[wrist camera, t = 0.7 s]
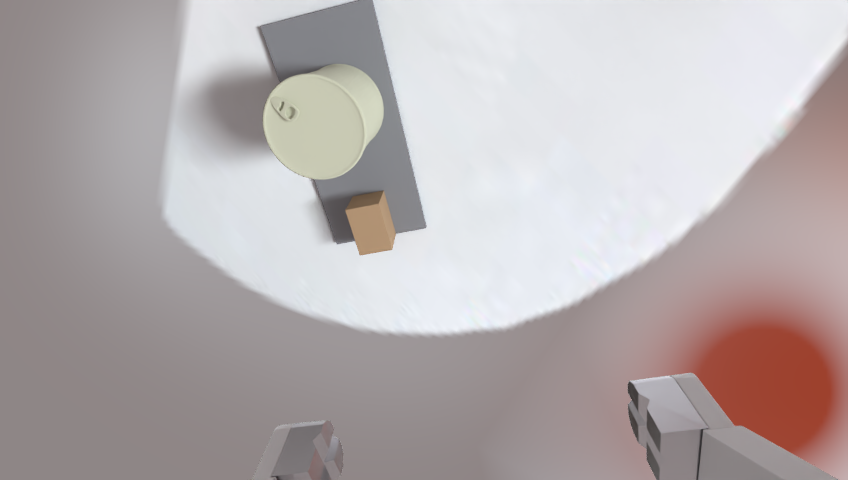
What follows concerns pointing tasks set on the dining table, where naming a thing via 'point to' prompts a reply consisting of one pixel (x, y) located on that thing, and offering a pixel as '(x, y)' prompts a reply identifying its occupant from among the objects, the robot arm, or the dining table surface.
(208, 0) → the dining table surface
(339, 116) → the can
